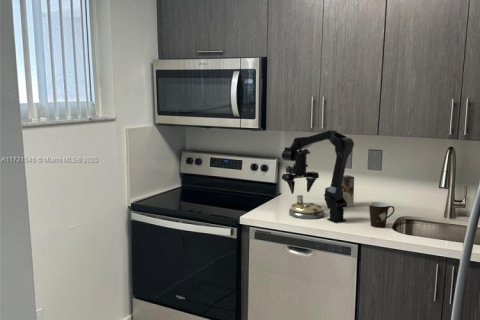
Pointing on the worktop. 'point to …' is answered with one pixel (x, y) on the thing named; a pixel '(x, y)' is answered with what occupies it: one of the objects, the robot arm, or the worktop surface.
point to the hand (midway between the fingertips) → (300, 192)
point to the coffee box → (348, 189)
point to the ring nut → (305, 207)
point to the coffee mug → (379, 214)
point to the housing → (306, 215)
